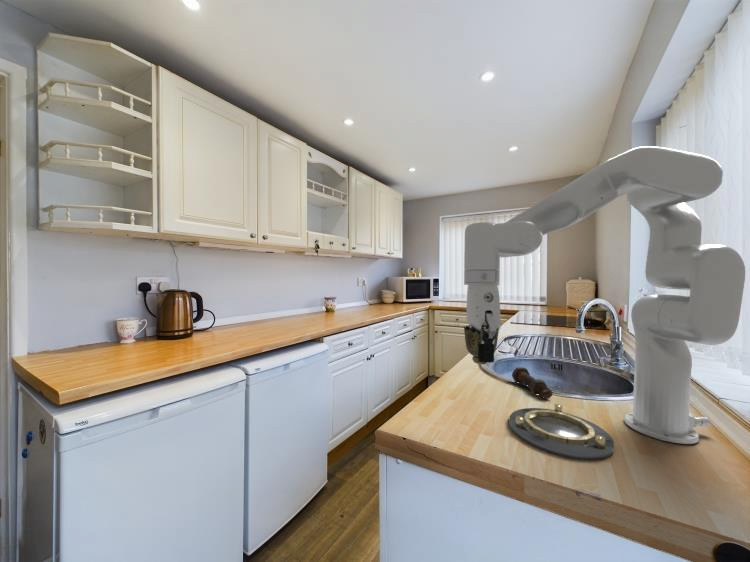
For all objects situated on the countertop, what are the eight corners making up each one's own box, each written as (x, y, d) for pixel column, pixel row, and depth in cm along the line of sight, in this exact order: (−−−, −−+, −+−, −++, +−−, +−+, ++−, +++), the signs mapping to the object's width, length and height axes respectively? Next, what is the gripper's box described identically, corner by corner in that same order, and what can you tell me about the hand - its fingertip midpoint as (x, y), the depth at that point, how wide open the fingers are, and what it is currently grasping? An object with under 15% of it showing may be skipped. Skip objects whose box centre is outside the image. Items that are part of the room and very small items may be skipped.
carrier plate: (574, 413, 78) (575, 401, 78) (640, 462, 58) (640, 445, 58) (496, 411, 79) (496, 399, 79) (534, 458, 59) (534, 442, 59)
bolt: (544, 407, 86) (516, 385, 101) (559, 398, 86) (529, 378, 101) (535, 389, 86) (509, 371, 101) (551, 381, 86) (522, 363, 101)
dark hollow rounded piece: (501, 368, 64) (502, 331, 64) (465, 366, 66) (465, 330, 65) (494, 359, 71) (495, 325, 71) (462, 357, 73) (462, 324, 73)
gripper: (514, 279, 59) (513, 369, 60) (485, 278, 77) (484, 348, 77) (476, 279, 60) (475, 369, 60) (455, 277, 77) (455, 347, 77)
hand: (480, 356), depth 69 cm, fingers closed on dark hollow rounded piece, 6 cm apart
